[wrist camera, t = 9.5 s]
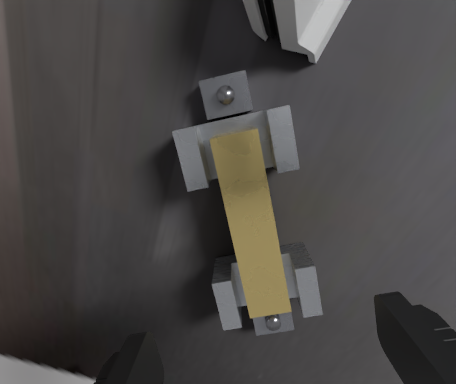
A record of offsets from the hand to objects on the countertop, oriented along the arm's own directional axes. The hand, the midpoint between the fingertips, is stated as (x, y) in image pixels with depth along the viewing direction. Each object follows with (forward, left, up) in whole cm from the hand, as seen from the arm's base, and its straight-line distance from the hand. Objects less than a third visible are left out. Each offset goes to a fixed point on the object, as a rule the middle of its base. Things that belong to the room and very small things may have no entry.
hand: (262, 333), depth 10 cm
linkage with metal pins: (0, 0, -14) cm, 14 cm away
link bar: (0, 0, -12) cm, 12 cm away
